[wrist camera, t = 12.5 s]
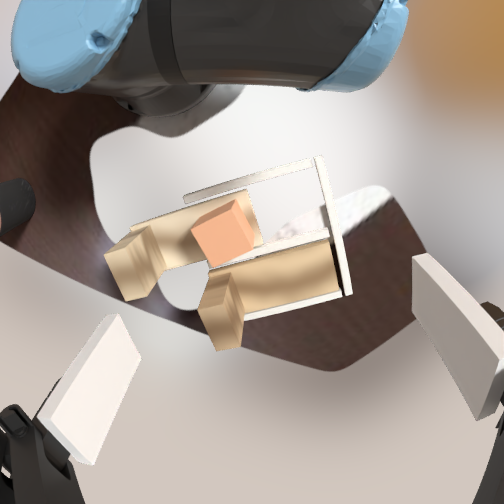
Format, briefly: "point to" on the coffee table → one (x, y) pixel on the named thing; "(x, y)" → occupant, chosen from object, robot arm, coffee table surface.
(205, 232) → the cube
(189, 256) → the wooden slider
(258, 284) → the wooden l-shaped block
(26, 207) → the travel mug
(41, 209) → the coffee table surface
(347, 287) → the lane rails
